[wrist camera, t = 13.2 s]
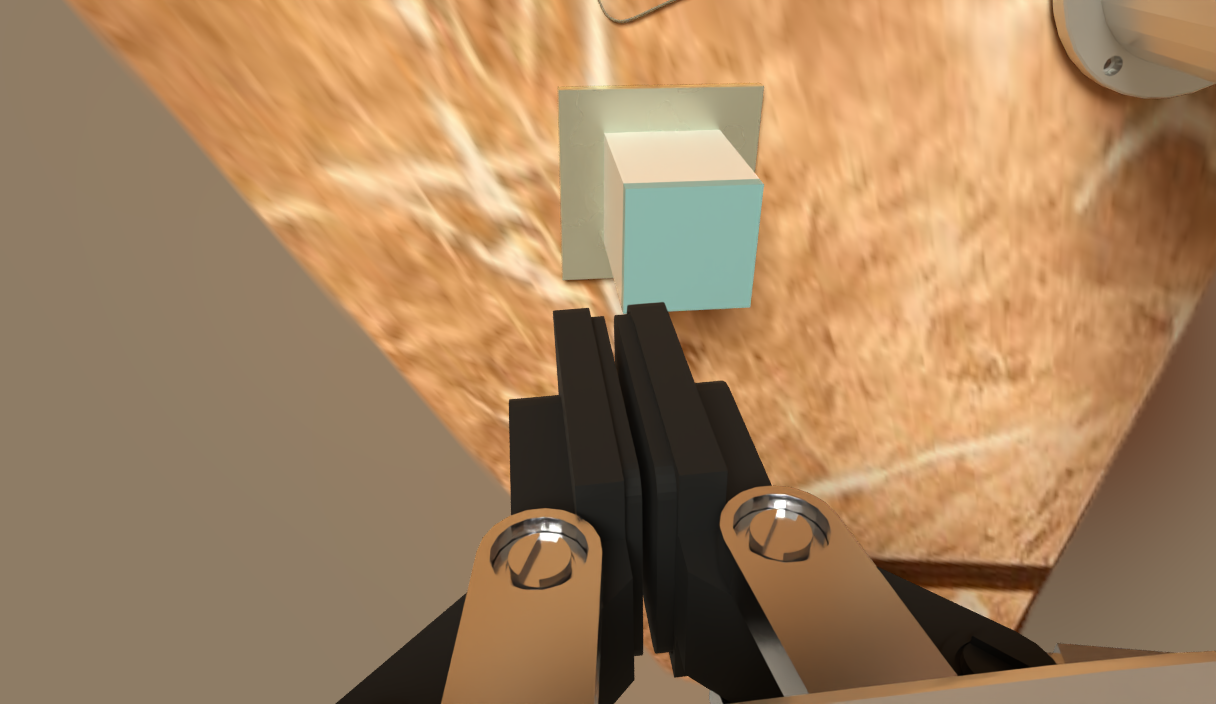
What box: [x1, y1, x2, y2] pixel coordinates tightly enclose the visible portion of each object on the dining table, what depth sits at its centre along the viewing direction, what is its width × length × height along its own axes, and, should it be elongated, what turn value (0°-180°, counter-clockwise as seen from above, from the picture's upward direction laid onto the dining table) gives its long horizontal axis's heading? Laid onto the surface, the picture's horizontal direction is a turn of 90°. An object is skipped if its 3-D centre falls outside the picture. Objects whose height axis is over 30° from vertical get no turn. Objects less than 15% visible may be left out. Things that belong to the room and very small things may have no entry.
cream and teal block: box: [604, 130, 764, 314], centre depth 34 cm, size 5×5×7 cm
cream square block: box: [558, 83, 764, 280], centre depth 35 cm, size 9×9×6 cm
